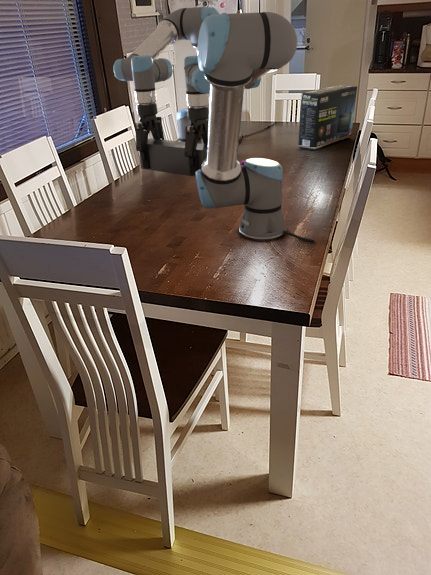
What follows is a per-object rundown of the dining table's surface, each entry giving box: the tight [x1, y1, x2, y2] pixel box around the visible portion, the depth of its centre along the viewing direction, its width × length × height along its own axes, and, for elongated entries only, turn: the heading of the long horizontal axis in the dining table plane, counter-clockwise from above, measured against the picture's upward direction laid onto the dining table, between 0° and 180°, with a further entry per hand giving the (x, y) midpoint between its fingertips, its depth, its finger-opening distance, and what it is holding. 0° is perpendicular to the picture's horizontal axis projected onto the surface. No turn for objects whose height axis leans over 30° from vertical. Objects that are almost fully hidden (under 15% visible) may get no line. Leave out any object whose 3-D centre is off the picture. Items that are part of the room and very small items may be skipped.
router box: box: [297, 84, 358, 151], centre depth 238 cm, size 36×11×27 cm, turn 134°
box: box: [138, 137, 208, 178], centre depth 171 cm, size 28×8×10 cm, turn 60°
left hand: (153, 165), depth 178 cm, fingers closed on box, 7 cm apart
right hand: (201, 170), depth 168 cm, fingers open, 10 cm apart
